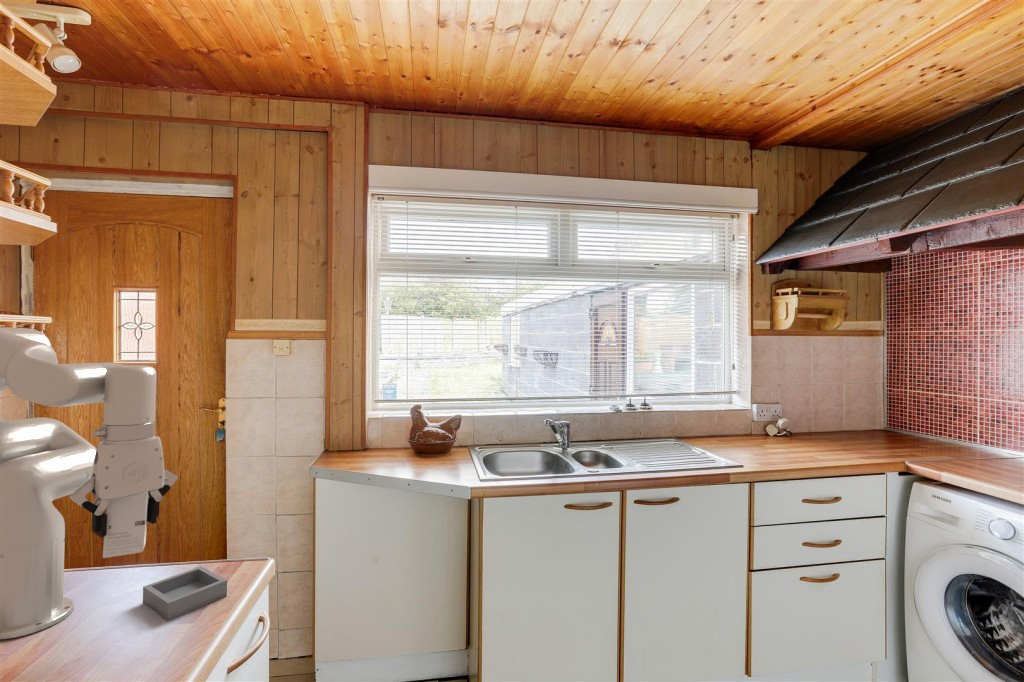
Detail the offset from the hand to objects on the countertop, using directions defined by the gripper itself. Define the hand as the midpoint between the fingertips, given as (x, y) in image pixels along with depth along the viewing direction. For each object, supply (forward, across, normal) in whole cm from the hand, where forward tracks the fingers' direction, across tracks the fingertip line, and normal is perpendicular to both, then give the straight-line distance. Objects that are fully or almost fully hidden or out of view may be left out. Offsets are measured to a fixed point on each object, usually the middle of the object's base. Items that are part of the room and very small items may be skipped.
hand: (126, 527), depth 89 cm
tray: (+19, +12, +3) cm, 23 cm away
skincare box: (+5, 0, 0) cm, 5 cm away
